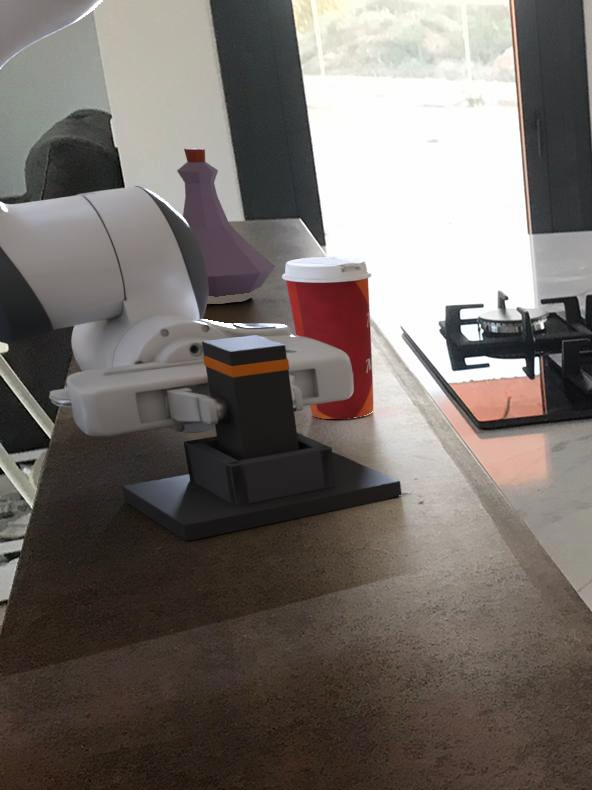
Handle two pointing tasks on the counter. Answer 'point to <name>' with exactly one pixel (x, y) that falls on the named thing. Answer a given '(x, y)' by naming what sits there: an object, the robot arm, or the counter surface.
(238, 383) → the black block
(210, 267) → the flask
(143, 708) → the counter surface
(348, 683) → the counter surface
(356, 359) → the paper cup
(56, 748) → the counter surface
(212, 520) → the base pad
